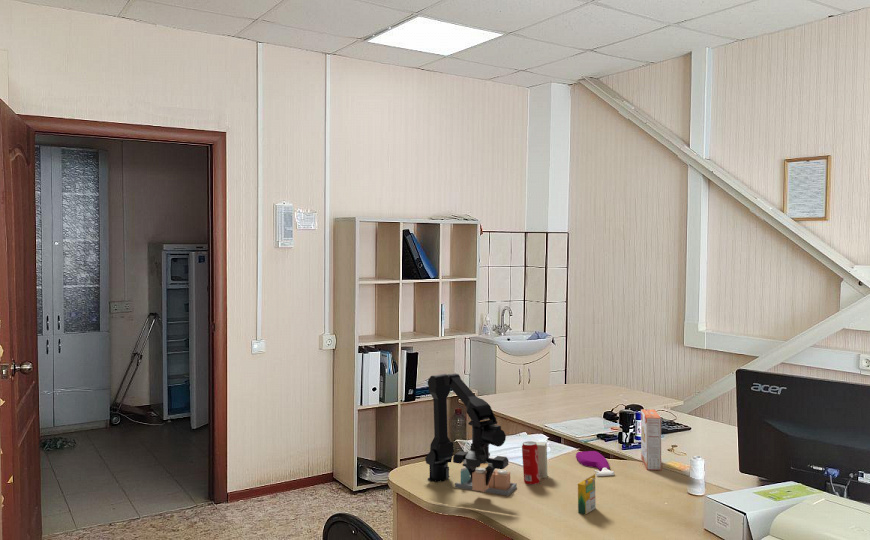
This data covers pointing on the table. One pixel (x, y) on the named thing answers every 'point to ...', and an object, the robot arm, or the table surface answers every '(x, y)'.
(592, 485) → the crayon box
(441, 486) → the table surface
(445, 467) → the robot arm
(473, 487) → the loose jar
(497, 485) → the front jar
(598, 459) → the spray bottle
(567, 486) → the table surface
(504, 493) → the tray
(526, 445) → the beverage can
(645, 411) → the cracker box
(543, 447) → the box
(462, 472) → the pusher plate
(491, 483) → the middle jar
